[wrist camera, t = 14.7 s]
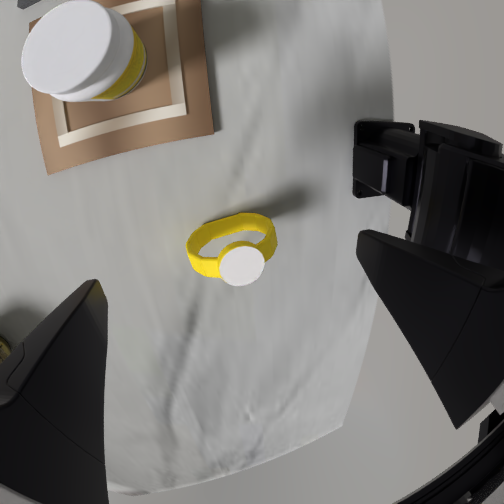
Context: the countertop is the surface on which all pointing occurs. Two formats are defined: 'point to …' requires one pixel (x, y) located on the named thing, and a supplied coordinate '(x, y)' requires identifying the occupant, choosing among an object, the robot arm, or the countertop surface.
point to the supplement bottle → (84, 53)
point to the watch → (233, 249)
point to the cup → (4, 350)
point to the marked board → (136, 92)
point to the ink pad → (26, 3)
